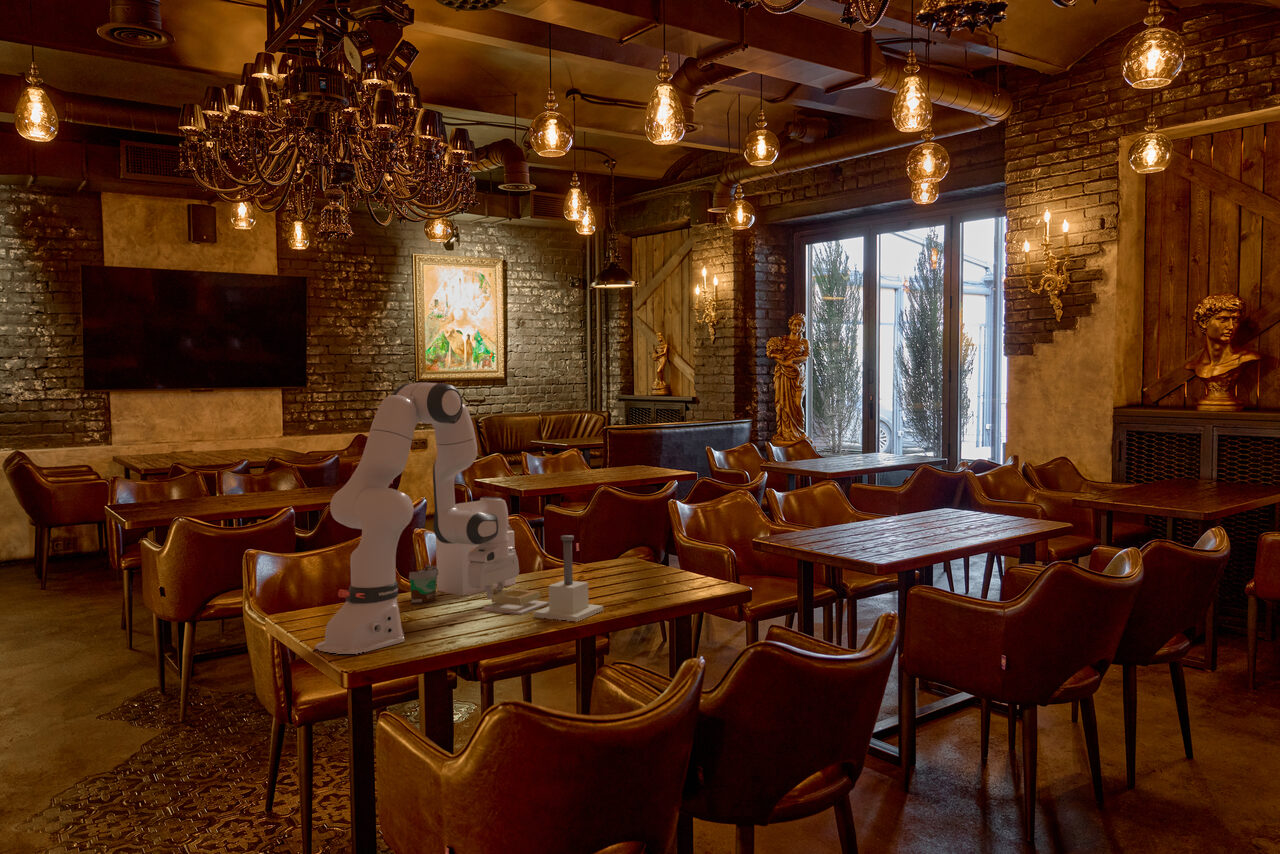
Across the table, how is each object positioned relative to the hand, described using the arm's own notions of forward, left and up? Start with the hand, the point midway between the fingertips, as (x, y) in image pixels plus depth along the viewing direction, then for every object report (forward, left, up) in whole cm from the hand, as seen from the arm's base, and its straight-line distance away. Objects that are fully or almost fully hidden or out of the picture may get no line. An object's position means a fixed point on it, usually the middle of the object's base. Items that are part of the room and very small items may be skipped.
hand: (495, 597), depth 267 cm
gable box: (+17, +20, -2) cm, 27 cm away
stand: (-1, -27, -2) cm, 27 cm away
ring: (0, -5, 0) cm, 5 cm away
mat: (0, -8, -2) cm, 8 cm away
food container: (-5, +21, -2) cm, 22 cm away
